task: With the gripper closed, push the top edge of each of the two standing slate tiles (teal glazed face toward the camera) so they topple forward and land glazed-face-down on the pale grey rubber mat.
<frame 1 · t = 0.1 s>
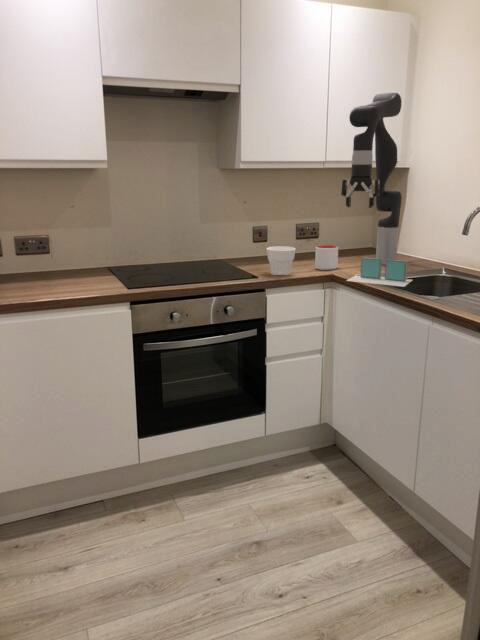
hand: (359, 207, 198), 29 cm above the countertop, fingers open, 8 cm apart
cup: (326, 269, 233), on the countertop
mat: (379, 281, 206), on the countertop
tile a: (370, 277, 211), resting on mat
tile b: (395, 280, 206), resting on mat
cup 2: (280, 274, 222), on the countertop
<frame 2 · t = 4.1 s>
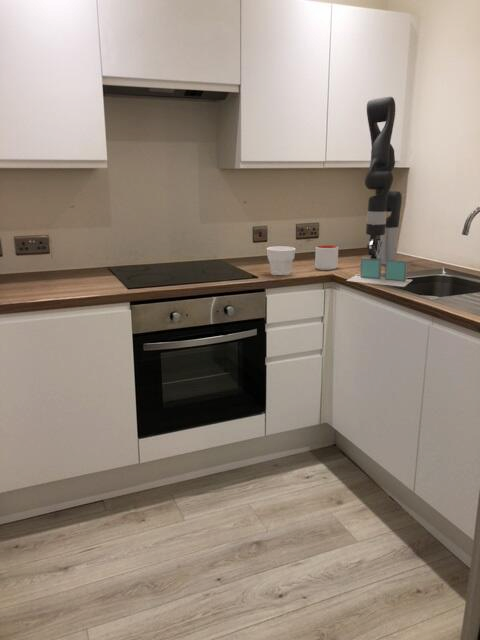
hand: (373, 265, 212), 5 cm above the countertop, fingers closed
tile a: (370, 277, 211), resting on mat, touching gripper
everything else where it was.
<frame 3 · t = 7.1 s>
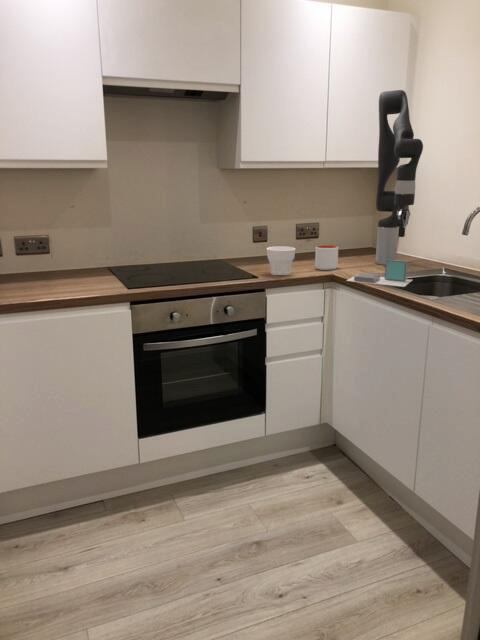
hand: (401, 236, 207), 17 cm above the countertop, fingers closed
tile a: (370, 275, 210), point 1 cm above the countertop, tilted 90°, touching mat
everything else where it was.
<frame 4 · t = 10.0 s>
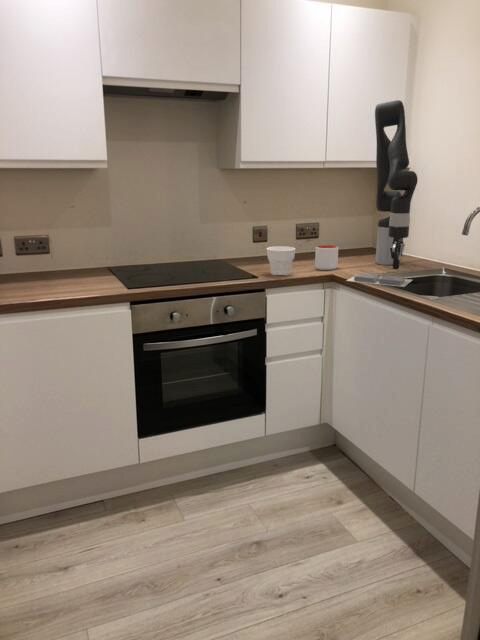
hand: (395, 268, 204), 5 cm above the countertop, fingers closed
tile b: (394, 278, 205), point 1 cm above the countertop, tilted 90°, touching mat
everything else where it was.
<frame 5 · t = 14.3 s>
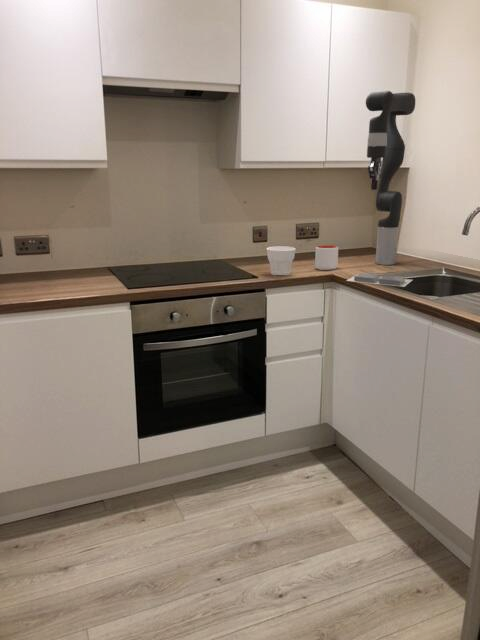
hand: (374, 189, 212), 35 cm above the countertop, fingers closed
nothing on the countertop moved.
at the end: tile a tilted 90°; tile b tilted 90°; tile b inside the target area (4.1 cm from its centre), point 1.4 cm above the countertop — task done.
